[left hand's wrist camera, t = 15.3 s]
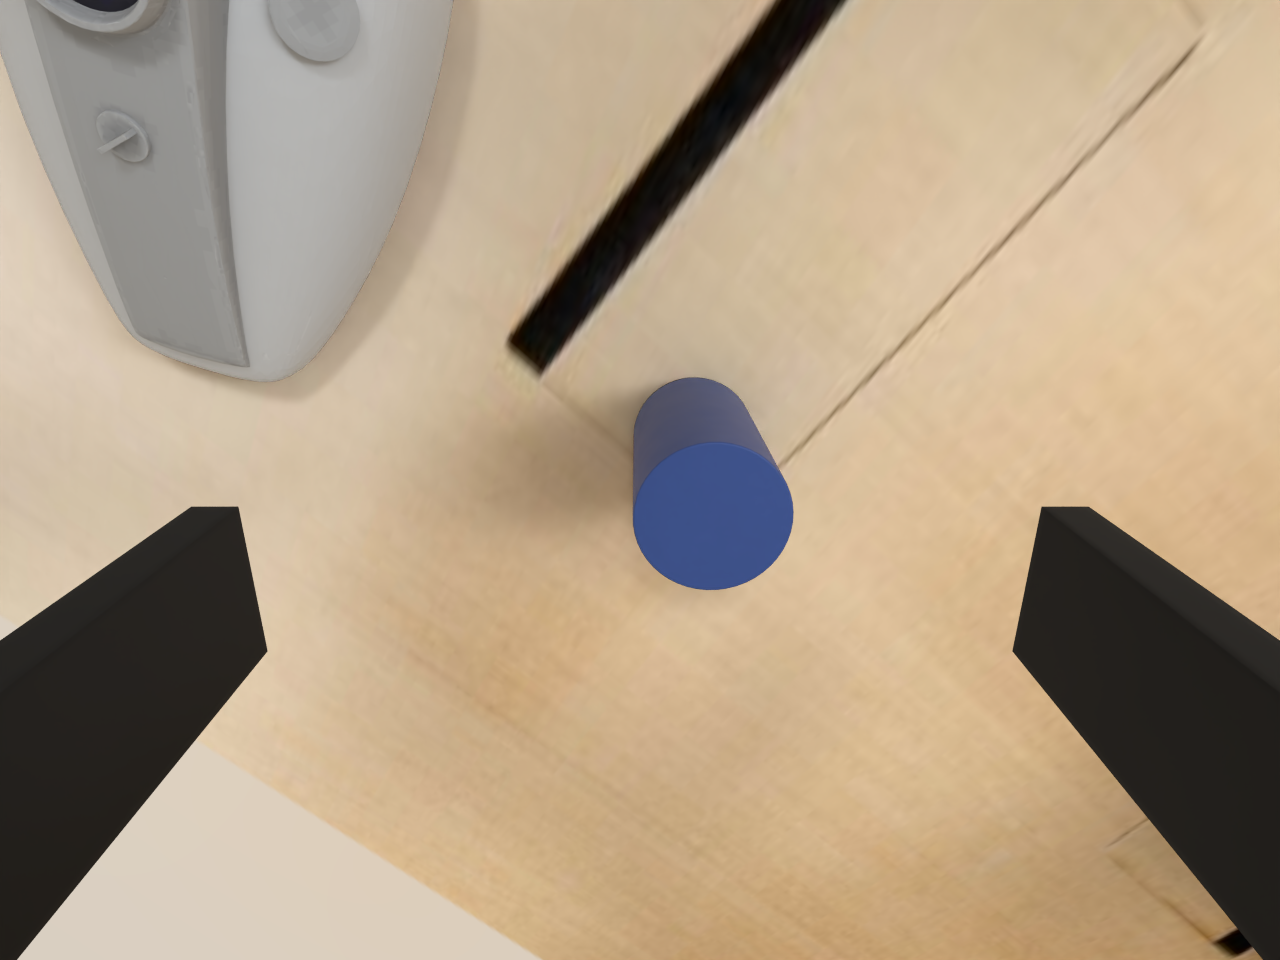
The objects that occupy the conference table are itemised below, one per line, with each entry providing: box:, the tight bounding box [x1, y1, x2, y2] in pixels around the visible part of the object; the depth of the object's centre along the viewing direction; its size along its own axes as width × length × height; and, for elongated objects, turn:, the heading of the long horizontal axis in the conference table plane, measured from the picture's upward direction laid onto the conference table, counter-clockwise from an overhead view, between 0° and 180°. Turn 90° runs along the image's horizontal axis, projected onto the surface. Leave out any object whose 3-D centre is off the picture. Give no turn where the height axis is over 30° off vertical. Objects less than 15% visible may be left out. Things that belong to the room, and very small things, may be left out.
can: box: [633, 378, 793, 590], centre depth 35 cm, size 6×6×12 cm
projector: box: [0, 0, 453, 382], centre depth 28 cm, size 22×23×15 cm
